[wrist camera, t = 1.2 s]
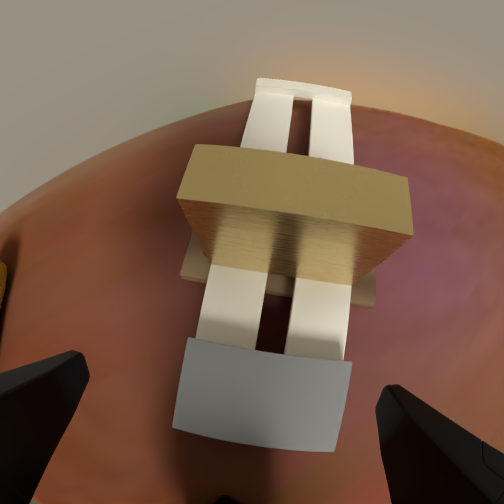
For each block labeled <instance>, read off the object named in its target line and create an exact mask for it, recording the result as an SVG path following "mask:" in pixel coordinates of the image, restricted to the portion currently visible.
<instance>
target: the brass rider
mask: <svg viewBox="0 0 504 504" xmlns="http://www.w3.org/2000/svg"><path fill="white" fill-rule="evenodd" d="M176 199H177V201H178V203H179V205H180V207H181V209H182V211H183V213H184V215H185V217H186V219H187V220H188V222H189V224H190V226H191V228H192V230H193V232H194V234H195V236H196V237H197V239H198V241H199V243H200V245H201V247H202V249H203V250H204V252H205V254H206V256H207V258H208V260H209V261H210V263H211V264H212V265H218V266H224V267H230V268H237V269H243V270H249V271H255V272H262V273H268V274H274V275H281V276H287V277H294V278H301V279H307V280H314V281H321V282H328V283H335V284H342V285H349V286H352V285H353V284H355V283H356V282H357V281H359V280H360V279H361V278H363V277H364V276H365V275H366V274H368V273H369V272H370V271H372V270H373V269H374V268H375V267H377V266H378V265H379V264H380V263H382V262H383V261H384V260H385V259H386V258H388V257H389V256H390V255H391V254H392V253H394V252H395V251H396V250H397V249H398V248H400V247H401V246H402V245H403V244H404V243H406V242H407V241H408V240H409V239H410V238H411V237H412V236H414V235H413V222H412V211H411V202H410V193H409V186H408V179H407V177H403V176H399V175H395V174H391V173H387V172H383V171H379V170H375V169H371V168H366V167H362V166H357V165H353V164H348V163H343V162H338V161H333V160H327V159H322V158H316V157H310V156H304V155H298V154H291V153H284V152H277V151H269V150H261V149H252V148H242V147H232V146H220V145H206V144H195V147H194V149H193V152H192V155H191V157H190V160H189V163H188V165H187V168H186V171H185V174H184V177H183V179H182V182H181V185H180V188H179V191H178V194H177V197H176Z"/></svg>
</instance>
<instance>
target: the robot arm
mask: <svg viewBox="0 0 504 504" xmlns="http://www.w3.org/2000/svg"><path fill="white" fill-rule="evenodd" d="M89 377H90V374H89V370H88V367H87V364H86V360H85V357H84V355H83V354H82V353H80V352H77V351H74V350H71V351H67V352H65V353H62V354H59V355H56V356H53V357H50V358H47V359H44V360H41V361H38V362H35V363H31V364H28V365H25V366H22V367H19V368H16V369H13V370H9V371H6V372H3V373H0V504H29V503H30V502H31V499H32V497H33V495H34V493H35V490H36V488H37V486H38V484H39V482H40V479H41V477H42V475H43V473H44V471H45V469H46V467H47V465H48V463H49V461H50V459H51V457H52V455H53V453H54V451H55V449H56V447H57V445H58V443H59V441H60V439H61V438H62V436H63V434H64V432H65V430H66V428H67V426H68V425H69V423H70V421H71V419H72V417H73V415H74V413H75V411H76V409H77V406H78V404H79V402H80V399H81V397H82V395H83V392H84V390H85V388H86V386H87V383H88V381H89ZM375 412H376V419H377V426H378V434H379V442H380V450H381V456H382V461H383V465H384V469H385V474H386V478H387V483H388V488H389V493H390V498H391V503H392V504H504V454H503V453H502V452H500V451H498V450H497V449H495V448H493V447H492V446H490V445H488V444H487V443H485V442H484V441H482V442H481V439H479V438H478V437H476V436H474V435H473V434H471V433H470V432H468V431H467V430H465V429H464V428H462V427H461V426H459V425H458V424H456V423H455V422H453V421H452V420H450V419H449V418H447V417H446V416H444V415H443V414H441V413H440V412H438V411H437V410H435V409H434V408H432V407H431V406H429V405H428V404H426V403H425V402H423V401H422V400H421V399H419V398H418V397H416V396H415V395H413V394H412V393H410V392H409V391H407V390H406V389H405V388H403V387H402V386H400V385H398V384H394V385H387V386H385V387H384V388H383V390H382V393H381V395H380V398H379V400H378V402H377V405H376V410H375ZM225 499H226V500H227V501H228V502H223V501H222V500H225ZM212 504H240V503H239V502H237V501H236V500H234V499H232V498H231V497H229V496H227V495H223V496H221V497H219V498H218V499H217V500H216V501H215V502H213V503H212Z"/></svg>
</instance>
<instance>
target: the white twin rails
mask: <svg viewBox="0 0 504 504" xmlns="http://www.w3.org/2000/svg"><path fill="white" fill-rule="evenodd" d="M294 96H295V97H302V98H308V99H312V107H311V124H310V139H309V152H308V156H310V157H316V158H322V159H327V160H333V161H338V162H343V163H348V164H353V165H354V156H353V139H352V125H351V114H350V104H351V101H352V97H351V92H350V91H345V90H341V89H335V88H331V87H325V86H320V85H314V84H308V83H301V82H294V81H286V80H277V79H267V78H258V79H257V82H256V93H255V96H254V100H253V103H252V106H251V110H250V113H249V117H248V120H247V124H246V127H245V131H244V135H243V138H242V142H241V146H240V147H242V148H252V149H261V150H269V151H277V152H284V153H286V151H287V144H288V137H289V129H290V122H291V114H292V107H293V99H294ZM267 276H268V273H262V272H255V271H249V270H243V269H237V268H230V267H224V266H218V265H212V264H211V267H210V271H209V276H208V280H207V285H206V289H205V294H204V299H203V303H202V308H201V313H200V318H199V323H198V328H197V333H196V338H190V337H188V339H187V344H186V349H185V355H184V360H183V365H182V371H181V376H180V382H179V387H178V393H177V399H176V405H175V411H174V418H173V424H172V428H176V429H179V430H183V431H186V432H190V433H194V434H198V435H202V436H206V437H211V438H215V439H220V440H225V441H230V442H235V443H241V444H247V445H253V446H260V447H268V448H276V449H286V450H298V451H315V452H334V450H335V447H336V443H337V439H338V434H339V430H340V426H341V421H342V417H343V412H344V407H345V402H346V397H347V392H348V386H349V380H350V374H351V368H352V362H348V361H343V358H344V351H345V344H346V336H347V328H348V319H349V310H350V299H351V287H352V286H349V285H342V284H335V283H328V282H321V281H314V280H307V279H301V278H295V283H294V290H293V297H292V304H291V311H290V318H289V324H288V331H287V337H286V343H285V349H284V354H277V353H270V352H264V351H258V350H255V346H256V341H257V335H258V329H259V323H260V318H261V312H262V306H263V300H264V294H265V288H266V282H267Z"/></svg>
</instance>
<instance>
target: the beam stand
mask: <svg viewBox="0 0 504 504" xmlns="http://www.w3.org/2000/svg"><path fill="white" fill-rule="evenodd" d="M210 267H211V263H210V261H209V260H208V258H207V256H206V254H205V252H204V250H203V249H202V247H201V245H200V243H199V241H198V239H197V237H196V236H195V234H194V232H193V231H192V235H191V238H190V241H189V244H188V248H187V251H186V254H185V258H184V261H183V264H182V268H181V271H180V276H181V278H182V279H184V280H189V281H194V282H200V283H205V284H207V280H208V276H209V271H210ZM294 283H295V278H294V277H287V276H281V275H274V274H268V276H267V282H266V288H265V294H270V295H277V296H283V297H290V298H292V297H293V290H294ZM374 305H375V268H374V269H373V270H372V271H370V272H369V273H368V274H366V275H365V276H364V277H363V278H361V279H360V280H359V281H357V282H356V283H355V284H353V285H352V287H351V299H350V306H356V307H364V308H371V307H373V306H374Z"/></svg>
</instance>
